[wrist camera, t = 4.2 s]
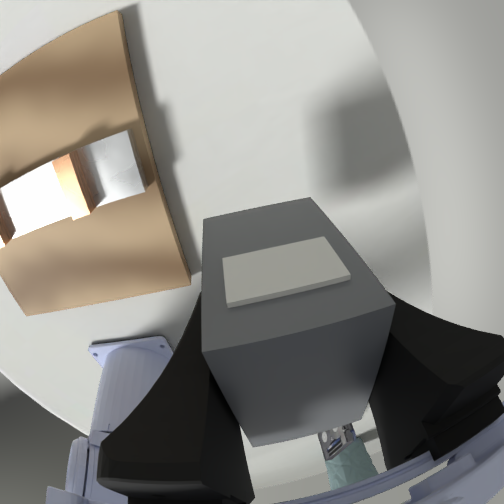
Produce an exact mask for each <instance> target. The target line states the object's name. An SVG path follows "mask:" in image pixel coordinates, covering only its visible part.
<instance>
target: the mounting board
mask: <svg viewBox="0 0 504 504" xmlns="http://www.w3.org/2000/svg"><path fill="white" fill-rule="evenodd" d="M130 128H132V130H133V134H134V137H135V141H136V145H137V148H138V152H139V155H140V159H141V162H142V166H143V169H144V173H145V176H146V179H147V182H148V188H147V190H146V191H145V192H143V193H140V194H136V195H133V196H130V197H126V198H123V199H120V200H116V201H113V202H110V203H107V204H104V205H101V206H98V207H96V208H95V209H94V210H93V211H92V213H91V214H89V215H86V216H83V217H80V218H77V219H74V220H73V218H72V216H68V217H66V218H63V219H60V220H57V221H55V222H52V223H49V224H47V225H44V226H42V227H39V228H37V229H34V230H32V231H29V232H27V233H24V234H22V235H19V236H17V237H15V238H12V239H11V240H10V241H9V242H8V243H7V244H6V245H5V246H4V247H1V248H0V275H1V277H2V279H3V281H4V282H5V284H6V286H7V287H8V289H9V291H10V292H11V294H12V295H13V297H14V299H15V300H16V302H17V303H18V305H19V306H20V308H21V309H22V311H23V312H24V314H25V315H26V316H31V315H37V314H42V313H48V312H54V311H59V310H65V309H71V308H76V307H82V306H87V305H92V304H98V303H103V302H108V301H114V300H119V299H124V298H129V297H134V296H139V295H144V294H150V293H155V292H160V291H165V290H170V289H174V288H179V287H184V286H189V285H191V274H190V271H189V268H188V265H187V262H186V259H185V257H184V254H183V251H182V248H181V245H180V242H179V239H178V236H177V233H176V230H175V227H174V224H173V221H172V217H171V214H170V211H169V208H168V205H167V202H166V198H165V195H164V192H163V188H162V185H161V182H160V178H159V175H158V171H157V168H156V164H155V161H154V157H153V153H152V150H151V146H150V142H149V139H148V135H147V131H146V127H145V123H144V119H143V115H142V111H141V107H140V102H139V98H138V94H137V89H136V85H135V80H134V76H133V71H132V66H131V61H130V56H129V51H128V46H127V41H126V35H125V29H124V23H123V17H122V14H121V13H120V12H118V11H114V12H111V13H109V14H106V15H104V16H102V17H99V18H97V19H95V20H93V21H90V22H88V23H86V24H84V25H82V26H80V27H78V28H76V29H74V30H72V31H70V32H68V33H66V34H64V35H62V36H60V37H58V38H57V39H55V40H53V41H51V42H50V43H48V44H46V45H45V46H43V47H41V48H40V49H38V50H36V51H35V52H33V53H32V54H30V55H29V56H27V57H26V58H24V59H23V60H21V61H20V62H18V63H17V64H15V65H14V66H13V67H11V68H10V69H8V70H7V71H6V72H4V73H3V74H2V75H0V188H1V187H3V186H4V185H6V184H8V183H9V182H11V181H13V180H15V179H16V178H18V177H20V176H22V175H24V174H26V173H27V172H29V171H31V170H33V169H35V168H37V167H39V166H41V165H43V164H45V163H47V162H49V161H51V160H53V159H55V158H58V157H60V156H62V155H64V154H66V153H69V152H71V151H73V150H75V149H78V148H80V147H83V146H85V145H87V144H90V143H92V142H95V141H97V140H100V139H103V138H105V137H108V136H111V135H113V134H116V133H119V132H122V131H125V130H127V129H130Z"/></svg>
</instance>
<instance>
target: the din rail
mask: <svg viewBox="0 0 504 504" xmlns="http://www.w3.org/2000/svg"><path fill="white" fill-rule="evenodd" d="M147 188H148V182H147V179H146V176H145V173H144V169H143V166H142V162H141V159H140V155H139V152H138V148H137V145H136V141H135V137H134V134H133V130H132V128H130V129H127V130H125V131H122V132H119V133H116V134H113V135H111V136H108V137H105V138H103V139H100V140H97V141H95V142H92V143H90V144H87V145H85V146H83V147H80V148H78V149H75V150H73V151H71V152H69V153H66V154H64V155H62V156H60V157H58V158H55V159H53V160H51V161H49V162H47V163H45V164H43V165H41V166H39V167H37V168H35V169H33V170H31V171H29V172H27V173H26V174H24V175H22V176H20V177H18V178H16V179H15V180H13V181H11V182H9V183H8V184H6V185H4V186H3V187H1V188H0V248H1V247H4V246H5V245H6V244H7V243H8V242H9V241H10V240H11V239H12V238H15V237H17V236H19V235H22V234H24V233H27V232H29V231H32V230H34V229H37V228H39V227H42V226H44V225H47V224H49V223H52V222H55V221H57V220H60V219H63V218H66V217H68V216H72V218H73V220H74V219H77V218H80V217H83V216H86V215H89V214H91V213H92V211H93V210H94V209H95V208H96V207H98V206H101V205H104V204H107V203H110V202H113V201H116V200H120V199H123V198H126V197H130V196H133V195H136V194H140V193H143V192H145V191H146V190H147Z"/></svg>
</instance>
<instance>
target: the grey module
mask: <svg viewBox="0 0 504 504" xmlns="http://www.w3.org/2000/svg"><path fill="white" fill-rule="evenodd" d="M395 305H396V303H395V302H394V301H393V299H392V298H391V296H390V295H389V294H388V292H387V291H386V290H385V288H384V287H383V286H382V284H381V283H380V282H379V280H378V279H377V278H376V276H375V275H374V274H373V272H372V271H371V270H370V269H369V267H368V266H367V265H366V263H365V262H364V261H363V260H362V258H361V257H360V256H359V255H358V253H357V252H356V251H355V250H354V248H353V247H352V246H351V245H350V243H349V242H348V241H347V240H346V238H345V237H344V236H343V235H342V234H341V232H340V231H339V230H338V229H337V228H336V226H335V225H334V224H333V223H332V222H331V220H330V219H329V218H328V217H327V216H326V215H325V213H324V212H323V211H322V210H321V209H320V208H319V206H318V205H317V204H316V203H315V202H314V201H313V200H312V199H311V197H309V198H303V199H298V200H293V201H287V202H282V203H277V204H272V205H267V206H262V207H257V208H253V209H248V210H243V211H238V212H234V213H229V214H224V215H220V216H215V217H211V218H206V219H203V242H202V294H201V329H202V353H203V356H204V358H205V360H206V362H207V364H208V366H209V368H210V370H211V372H212V374H213V376H214V378H215V380H216V382H217V384H218V385H219V387H220V389H221V391H222V393H223V395H224V397H225V399H226V401H227V403H228V404H229V406H230V408H231V410H232V412H233V414H234V415H235V417H236V419H237V421H238V422H239V424H240V426H241V428H242V430H243V431H244V433H245V435H246V436H247V438H248V440H249V442H250V443H251V445H252V447H258V446H264V445H269V444H274V443H279V442H284V441H288V440H293V439H297V438H301V437H305V436H309V435H313V434H317V433H320V432H324V431H327V430H331V429H334V428H337V427H340V426H344V425H347V424H350V423H353V422H356V421H358V420H361V419H362V416H363V414H364V411H365V408H366V406H367V403H368V400H369V397H370V394H371V391H372V389H373V386H374V383H375V380H376V376H377V373H378V370H379V367H380V364H381V360H382V357H383V353H384V350H385V346H386V343H387V339H388V335H389V331H390V327H391V323H392V319H393V314H394V310H395Z"/></svg>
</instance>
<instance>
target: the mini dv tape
mask: <svg viewBox="0 0 504 504" xmlns="http://www.w3.org/2000/svg"><path fill="white" fill-rule="evenodd" d="M317 434H318V438H319V441H320V444H321V448H322V451H323V455H324V458H325V461H328V460H332V459H334V458H335V457H336V456H337V455H338V454H340V453H341V452H342V451H343V450H344V449H345V448H347V447H348V446H349V445H350V444H351V443H352V442H353V441H355V440H356V434H355V431H354V429H353V426H352V423H350V424H347V425H344V426H340V427H337V428H334V429H331V430H327V431H324V432H320V433H317Z"/></svg>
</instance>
